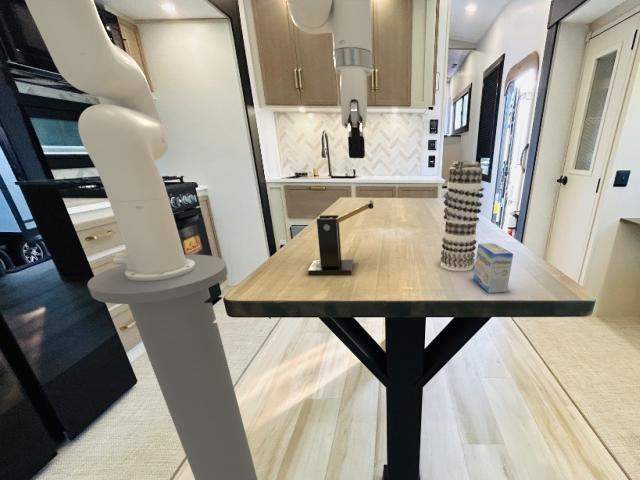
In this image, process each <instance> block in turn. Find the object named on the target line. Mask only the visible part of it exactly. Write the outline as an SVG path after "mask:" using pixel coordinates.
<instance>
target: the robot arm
mask: <svg viewBox="0 0 640 480" xmlns="http://www.w3.org/2000/svg"><path fill="white" fill-rule="evenodd" d="M24 1H25V4H26V6H27V9H28V11H29V12H30V15H31V17H32V19H33V21H34V23H35V25H36V28H37V29H38V31H39V34H40V36H41V38H42V40H43V42H44V44H45V47H46V48H47V50H48V53H49V55H50V57H51V59H52V61H53V63H54V65H55V67H56V69H57V71H58V72H59V74H60V75H61V76H62V78H63V79H64V80H65V81H66V82H67V83H68V84H69V85H71V86H72V87H74V88H75V89H77V90H79V91H81V92H84V93H86V94H88V95H92V96H95V97H97V99H98V101H99V103H98V104H93V105H91V106H88V107H86V109H84V110H83V111H82V113H81V114H80V116H79V118H78V123H77V128H78V135H79V137H80V140H81V143H82V144H83V147H84V149H85V151H86V153H87V154H88V156H89V158H90V160H91V161H92V163H93V165H94V167H95V169H96V171H97V174H98V176H99V179H100V180H101V183H102V185H103V188H104V191H105V194H106V196H107V199H108V201H109V204H110V207H111V210H112V213H113V216H114V218H115V221H116V224H117V226H118V229H119V232H120V236H121V238H122V241H123V244H124V247H125V249H126V252H127V253H126V252H119V253H115V254H114V258H112V263H113V264H114V265H124V264H126V265H127V268H128V269H127V270H126V271H125V275H126V277H127V278H128V279H130V280H133V281H157V280H164V279H169V278H174V277H178V276H181V275H184V274H187V273H189V272H191V271H192V270H194V269H195V267H196V265H195V262H194V261H193V260H190V259H185V255H186V254H185V252H184V249H183V245H182V241H181V237H180V234H179V231H178V230H179V229H178V227H177V224H176V220H175V215H174V213H173V209H172V205H171V202H170V198H169V195H168V191H167V188H166V185H165V182H164V179H163V177H162V176H163V175H162V174H161V172H160V170H159V168H158V165H157V163H156V161H157V160H159V159H161V158H162V157H163V156H164V155H165V154H166V153H167V150H168V147H169V140H168V139H169V138H168V134H167V131H166V127H165V125H164V122H163V119H162V117H161V114H160V112H159V108H158V106H157V104H156V101H155V98H154V96H153V93H152V90H151V88H150V85H149V83H148V81H147V78H146V75H144V73H143V70H142V69H141V67H140V66H139V65H138V63H137V62H136V60H135V59H134V58H133V57H132V56H131V55H130V54H128V53H127V52H126V51H125V50H123V49H122V48H121V47H119V46H117V45H115V44H114V43H113V42H112V40H111V39H110V37H109V35H108V33H107V31H106V29H105V27H104V24H103V22H102V20H101V18H100V15H99V11H98V10H97V7H96V4H95V1H94V0H24ZM285 1H286V2H288V3H287V4H288V9H289V10H288V11H289V15H290V17H291V20H292V22H293V23H294V25H295V26H296V27H297V28H298V29H299V30H300V31H301V32H303V33H305V34H309V35H324V34H331V33H332V44H333V45H332V46H333V60H334V61H333V62H334V73H335V74H336V75H338V76H339V86H340V87H339V89H340V91H339V92H340V109H341V110H340V111H341V126H343V128H344V129H348V136H347V145H348V157H349V159H365V157H366V147H365V136H364V129H366V127H367V115H368V79H367V77H370V76H372V75H373V43H372V37H373V36H372V0H285Z"/></svg>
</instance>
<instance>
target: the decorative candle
mask: <svg viewBox="0 0 640 480" xmlns="http://www.w3.org/2000/svg"><path fill="white" fill-rule="evenodd" d="M448 169H449V173H448V181H447V185H446V186H447V187H446V188H447V191H446V192H445V194H443V197H444V198H445V199H444V200H443V204H444V206H445V208H444V209H443V213H444V215H443V220H444V222H445V225H444V226H445V229H444V231H443V238H441V241H442V243H443V244H441V248H442V250H441V251H440V255H441V257H440V261H441V262H440V266H441V267H442V268H443V269H445V270H449V271H454V272H467V271H470V270H473V268H474V264H475V259H474V258H475V256H476V253H475V252H474V251H476V250H477V246H476V244H477V240H476V237H477V232H476V231H477V223H479V221H480V218H479V217H478V214H480V213H481V212H482V210H481V209H480V208H481V206H482V205H483V204H482V202H481V201H480V199H482V198H484V193H482V192H483V191H484V190H485V187H482V185H483V182H482V180H483V179H482V178H483V171H484V168H482V166H481V163H480V162H479V161H474V160H455V161H453V163H452V164H451V165H450V167H448Z"/></svg>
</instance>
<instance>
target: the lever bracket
mask: <svg viewBox="0 0 640 480" xmlns="http://www.w3.org/2000/svg"><path fill="white" fill-rule="evenodd" d="M330 217H332V218H330ZM338 217H340V216H339V214H320V215H319V217H318V218H316V227H317V228H316V230H317V239H318V247H319V248H318V250H319V259H313V261H312V263H311V264H310V266H309V268H308V269H307V274H308V276H351V275H352V273H353V268H354V259H342V246H341V245H342V244H341V232H340V231H341V230H340V222H339V223H337V218H338Z"/></svg>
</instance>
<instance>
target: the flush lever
mask: <svg viewBox="0 0 640 480" xmlns="http://www.w3.org/2000/svg"><path fill="white" fill-rule="evenodd" d="M373 208H374V200H369V201H368V202H367V203H365V204H363V205H360V206H359V207H357V208H355V209H353V210H351V211H349V212H346V213H344V214H343V215H340V216H339V217H338V218H337V223H339V224H340V223H341V222H343V221H345V220H348V219H350V218H352V217H354V216H356V215H358V214H361V213H363V212H365V211H366V210H368V209H369V210H372V209H373ZM330 218H332V217H330Z"/></svg>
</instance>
